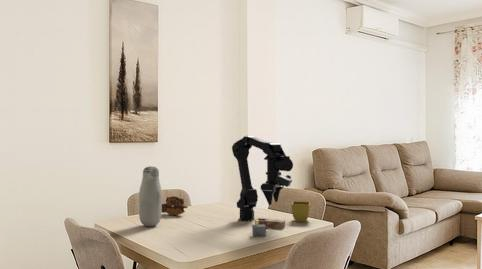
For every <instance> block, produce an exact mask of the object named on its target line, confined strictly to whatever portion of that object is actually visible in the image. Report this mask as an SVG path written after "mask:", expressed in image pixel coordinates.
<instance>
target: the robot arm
mask: <svg viewBox="0 0 482 269" xmlns="http://www.w3.org/2000/svg"><path fill="white" fill-rule="evenodd" d="M252 147H254V148H257V149H259V150H261V151H262V152H263V154H265V155H266V156H265V157H264V158H263V160H265V161H266V171H265V175H266V181H265V182H263V183H261V185H260V190H261V192H262V193H263V195H264V197H265V199H266V202H267V204H268V205H269V206H271V205H272V202H273V200H274V202H275V203H278V201H279V196H280V194H281V191H282V190H283V189H284V187H286V188H288V187H291V184H292V182H293V179H292V175H289V174H288V175H282V172H290V171H292V170H293V168H294V163H293V160H292V159H290V155H286V153H285V152H284V149H283V147H282V145H281V144H280V143H279V142H271V141H266V140H263V139H260V138H258V137H255V136H253V135H245V136H243V137H242V138H241V139H239V140H237V141H236V142H234V143H233V144H232V146H231V150H232V154H233V157H234V158H235V159H236V161H237V165H238V166H237V167H238V172H239V178H240V183H241V189H240V193H239V200H237V202H236V208H238V209H239V218H238V221H245V222H247V221H248V222H252V221H253V220H256V219H255V209H254V208H256V207H257V204H258V198H259V196H258V189H257V188H254V187H253V185H252V181H251V180H252V178H251V173H250V168H249V162H248V158H249V155H250V150H251V149H252Z"/></svg>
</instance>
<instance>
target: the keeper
mask: <svg viewBox="0 0 482 269" xmlns="http://www.w3.org/2000/svg"><path fill="white" fill-rule="evenodd" d="M251 227H252V237H253V238H254V237H256V238H257V237H259V238H260V237H262V238H263V237H264V238H265V237H267V227H266V226H265V224H260V225H255V224H251Z"/></svg>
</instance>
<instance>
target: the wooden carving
mask: <svg viewBox="0 0 482 269" xmlns="http://www.w3.org/2000/svg"><path fill="white" fill-rule="evenodd" d="M165 202H166V203H162V213H163V214H164V213H166V214H168V215H170V216H179V215H181V214H182V215H183V214H184V213H185V212H186V210H184V209H188V208H189V207H188V205H185V199H184V198H182V197H181V196H177V195H174V196H168V197H166V199H165ZM162 213H161V214H162Z"/></svg>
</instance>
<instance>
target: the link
mask: <svg viewBox="0 0 482 269" xmlns="http://www.w3.org/2000/svg"><path fill="white" fill-rule="evenodd" d="M255 220H259V225H260V224H265V226H266V228H269V229H278V228H279V229H280V230H283V229H285V228H286V220H281V219H274V218H273V219H272V218H264V217H258V218H256V219H255ZM284 227H285V228H284ZM279 229H278V230H279Z"/></svg>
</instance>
